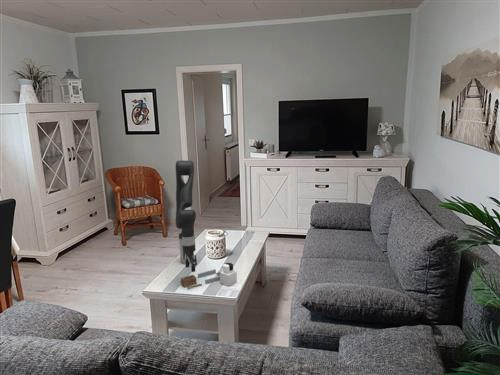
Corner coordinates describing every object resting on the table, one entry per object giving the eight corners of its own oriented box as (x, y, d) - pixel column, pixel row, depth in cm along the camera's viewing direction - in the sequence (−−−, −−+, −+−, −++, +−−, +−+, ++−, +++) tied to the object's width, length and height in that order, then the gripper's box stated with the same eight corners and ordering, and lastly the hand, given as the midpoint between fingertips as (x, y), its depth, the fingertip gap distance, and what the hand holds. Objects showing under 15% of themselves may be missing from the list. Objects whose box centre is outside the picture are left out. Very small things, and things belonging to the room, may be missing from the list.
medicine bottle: (228, 279, 231) (227, 260, 229) (237, 282, 227) (236, 263, 224) (220, 283, 226) (219, 264, 224) (229, 286, 221) (228, 267, 219)
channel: (197, 277, 235) (197, 273, 235) (215, 272, 241) (215, 269, 241) (205, 284, 225) (205, 280, 225) (223, 279, 232) (223, 275, 231)
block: (181, 285, 226) (180, 278, 225) (193, 281, 230) (192, 274, 229) (184, 287, 222) (183, 280, 221) (196, 284, 226) (196, 277, 225)
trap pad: (216, 273, 240) (216, 273, 240) (221, 271, 242) (221, 271, 242) (222, 278, 233) (222, 277, 233) (228, 276, 235) (228, 276, 235)
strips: (180, 282, 229) (180, 281, 229) (194, 278, 234) (194, 277, 233) (187, 289, 220) (187, 288, 219) (202, 285, 224) (201, 284, 224)
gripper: (199, 245, 218) (201, 271, 221) (189, 238, 230) (191, 264, 232) (187, 247, 214) (189, 274, 217) (178, 241, 226) (179, 267, 229)
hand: (190, 269), depth 225 cm, fingers open, 8 cm apart
